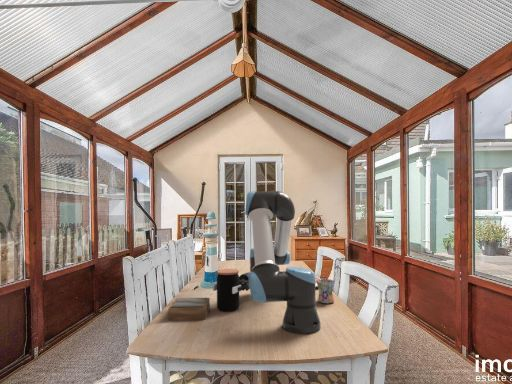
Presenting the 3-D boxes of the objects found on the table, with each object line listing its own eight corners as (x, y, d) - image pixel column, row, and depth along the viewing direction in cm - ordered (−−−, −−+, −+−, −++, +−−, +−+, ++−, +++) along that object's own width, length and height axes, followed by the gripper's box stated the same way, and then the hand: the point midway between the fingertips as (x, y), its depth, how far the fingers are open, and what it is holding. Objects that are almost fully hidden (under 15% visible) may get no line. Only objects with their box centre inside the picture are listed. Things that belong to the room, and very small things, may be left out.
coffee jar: (243, 307, 159) (243, 269, 160) (230, 313, 150) (230, 273, 151) (226, 304, 165) (225, 267, 165) (212, 309, 156) (212, 271, 156)
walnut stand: (205, 319, 142) (205, 306, 142) (168, 320, 142) (168, 307, 142) (209, 308, 158) (209, 297, 158) (176, 309, 158) (176, 297, 158)
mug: (337, 304, 162) (337, 282, 163) (319, 305, 161) (318, 283, 162) (330, 297, 174) (329, 277, 175) (313, 298, 173) (312, 278, 174)
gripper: (267, 289, 167) (243, 300, 148) (229, 284, 179) (203, 294, 160) (266, 275, 168) (243, 283, 149) (229, 271, 179) (203, 278, 160)
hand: (223, 289), depth 154 cm, fingers closed on coffee jar, 11 cm apart
